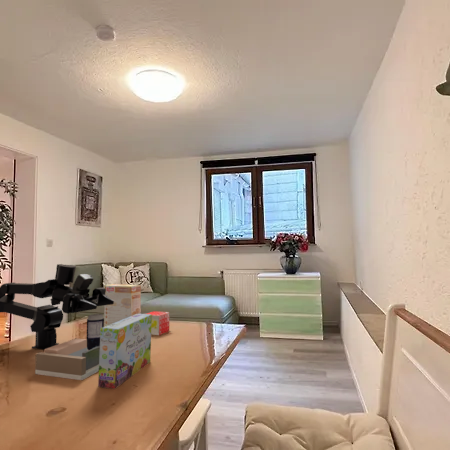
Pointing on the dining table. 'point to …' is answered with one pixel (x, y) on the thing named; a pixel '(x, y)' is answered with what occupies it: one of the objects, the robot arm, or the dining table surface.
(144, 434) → the dining table surface
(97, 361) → the grey flat plate
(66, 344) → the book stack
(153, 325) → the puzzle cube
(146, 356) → the snack box
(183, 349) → the dining table surface
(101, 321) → the beverage can
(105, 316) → the coffeecake box
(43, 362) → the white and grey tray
